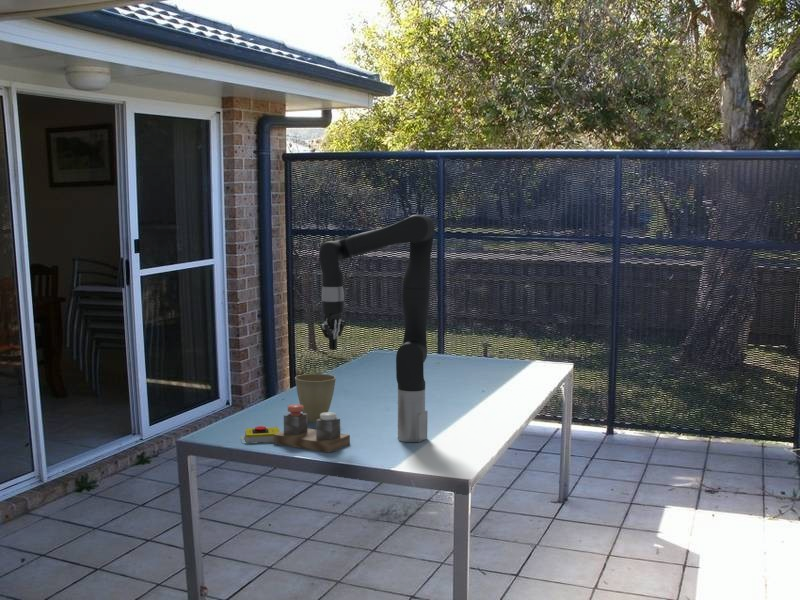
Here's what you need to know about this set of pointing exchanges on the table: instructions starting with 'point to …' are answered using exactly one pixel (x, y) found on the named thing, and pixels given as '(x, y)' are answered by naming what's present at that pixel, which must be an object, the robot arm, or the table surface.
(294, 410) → the red plunger
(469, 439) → the table surface
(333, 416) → the white plunger
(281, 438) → the press board
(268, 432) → the emergency button
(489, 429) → the table surface
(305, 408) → the plant pot
